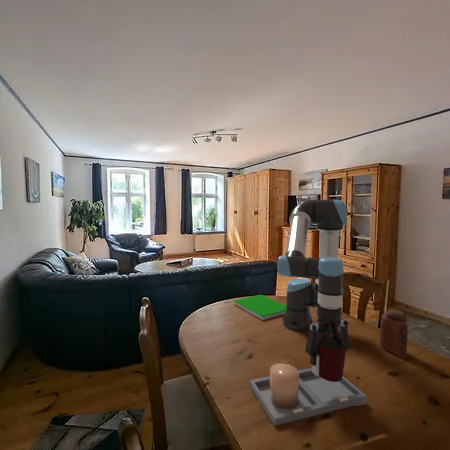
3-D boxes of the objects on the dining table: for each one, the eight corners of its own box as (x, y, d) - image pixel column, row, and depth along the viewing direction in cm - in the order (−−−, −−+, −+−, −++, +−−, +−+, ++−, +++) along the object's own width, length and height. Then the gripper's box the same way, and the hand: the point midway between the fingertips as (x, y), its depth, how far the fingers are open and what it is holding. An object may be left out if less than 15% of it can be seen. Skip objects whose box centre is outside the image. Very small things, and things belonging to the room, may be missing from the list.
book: (262, 321, 150) (262, 316, 150) (233, 305, 174) (233, 300, 174) (292, 313, 162) (292, 308, 162) (261, 298, 186) (261, 294, 186)
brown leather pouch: (412, 355, 116) (415, 313, 115) (403, 359, 113) (406, 316, 112) (384, 343, 127) (386, 304, 125) (375, 346, 124) (377, 306, 122)
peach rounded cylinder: (289, 387, 95) (289, 361, 94) (304, 405, 87) (305, 377, 86) (264, 392, 92) (265, 366, 92) (277, 411, 84) (278, 382, 83)
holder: (328, 371, 105) (329, 363, 105) (366, 403, 88) (366, 395, 88) (249, 387, 96) (249, 379, 95) (274, 427, 79) (274, 418, 78)
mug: (304, 365, 98) (305, 334, 97) (324, 360, 101) (325, 330, 100) (329, 386, 87) (330, 351, 86) (351, 380, 90) (352, 346, 89)
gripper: (347, 298, 99) (345, 360, 101) (294, 304, 92) (292, 370, 94) (364, 305, 92) (361, 372, 93) (308, 312, 85) (305, 384, 87)
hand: (326, 371), depth 94 cm, fingers closed on mug, 8 cm apart
